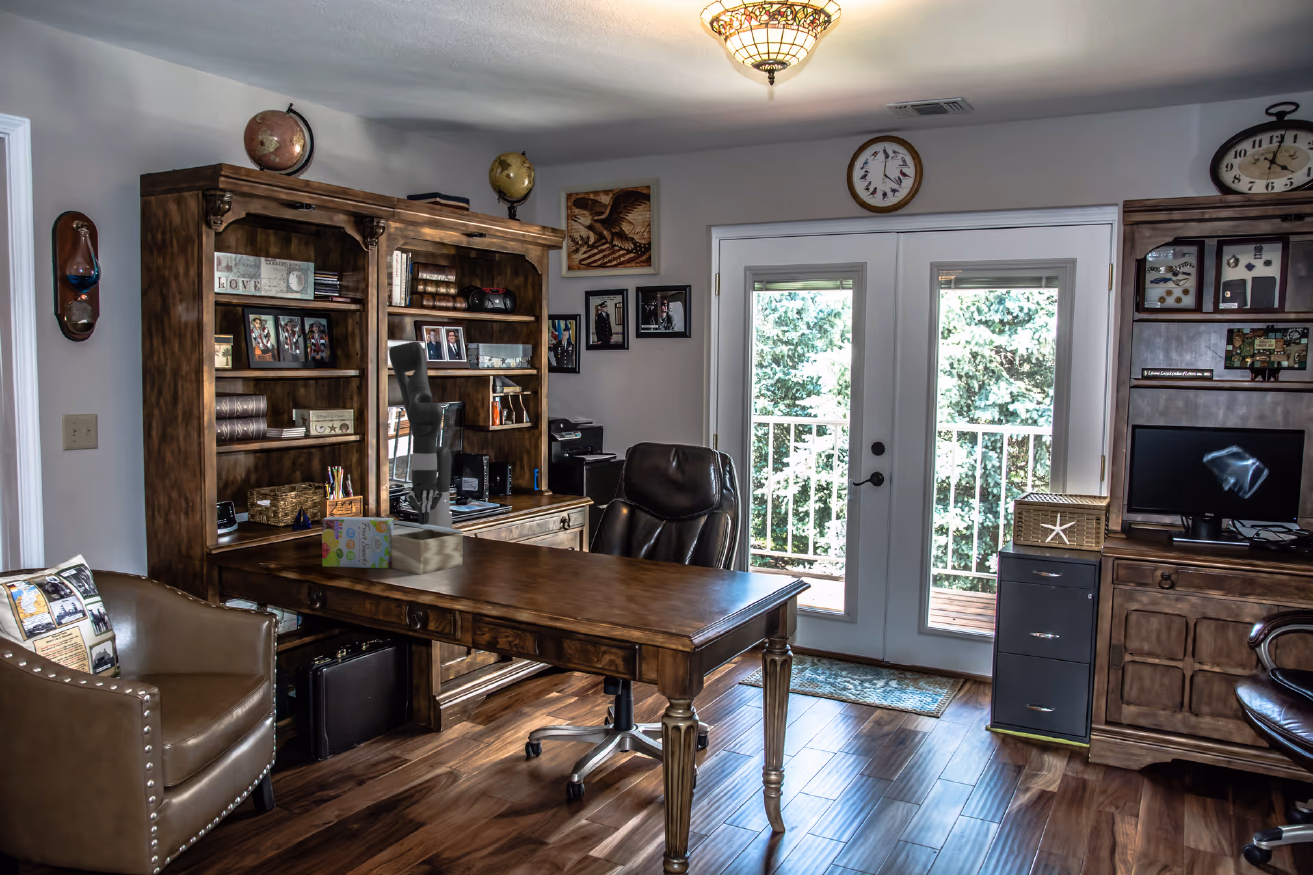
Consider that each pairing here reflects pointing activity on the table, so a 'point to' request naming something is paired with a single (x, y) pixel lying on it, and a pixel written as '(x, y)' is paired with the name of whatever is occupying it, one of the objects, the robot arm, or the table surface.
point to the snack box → (357, 542)
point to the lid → (429, 527)
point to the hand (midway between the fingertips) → (423, 524)
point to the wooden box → (426, 551)
